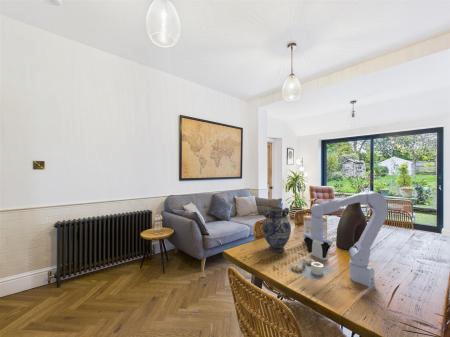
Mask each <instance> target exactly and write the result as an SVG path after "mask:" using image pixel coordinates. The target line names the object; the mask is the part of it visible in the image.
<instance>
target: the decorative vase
mask: <svg viewBox="0 0 450 337" xmlns="http://www.w3.org/2000/svg"><path fill="white" fill-rule="evenodd" d="M289 214H290V208H289V207H284V208H282V207H278V206H272V207H270V208H269V209H265V210H263V217H265V218H264V220H263V222H262V234H263V238H264V239H265V241H266V242H267V244H268V245H269V246H268V250H269V251H271V252H272V253H273V252H274V253H282V252H285V246H286V244H287V243H288V241H289V239H290V237H291V233H292V232H291V231H292V226H291V223H290V221H289V219H288V215H289Z"/></svg>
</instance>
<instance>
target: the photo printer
mask: <svg viewBox="0 0 450 337" xmlns="http://www.w3.org/2000/svg"><path fill="white" fill-rule="evenodd" d="M321 244H323V242H320V241H316V240H313V243H312V252H311V253H310V255H312V256H313V257H315V258H318V259H320V260H322V261H327V260H328V258H329V256H328V254H329V253H328V252H329V251H328V252H327V256H326V258H323V257H322V246H321Z"/></svg>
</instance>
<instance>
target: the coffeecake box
mask: <svg viewBox="0 0 450 337" xmlns="http://www.w3.org/2000/svg"><path fill="white" fill-rule="evenodd" d="M311 215H312V214H311ZM311 215H303V234H304V233H308V234H311ZM323 237H325V238H327V239H328V218H327V217H326V216H325V215H323ZM304 239H305V237H303V242H304V243H305V241H304Z"/></svg>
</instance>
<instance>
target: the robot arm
mask: <svg viewBox="0 0 450 337" xmlns="http://www.w3.org/2000/svg"><path fill="white" fill-rule="evenodd" d="M387 202H388V201H387V199H386V198H385V196H384V195H383V194H382V193H379V192H376V191H374V190H367V191H363V192H358V193H355V194H353V195H350V196H347V197H344V198H341V199H339V200H337V199H334V198H332V199H331V198H328V199H327V200H326V201H323V202H318V203H315V204H312V205H311V208H310V212H311V234H308V233H304V232H303V234H302V235H303V242H304V241H305V242H304V243H305V244H306V248H307V252H308V253H309V254H311V252H312V243H313V240H316V241H320V242H323V244H321V246H322V257H323V258H326V256H327V252H329V249H331V246H332V245H333V240H332V239H329V238H328V237H327V238H325V237H323V216H325V215H326V214H331V213H334V212H336V211H339V210H340V209H341V207H346V206H350V205H354V204H356V203H359V204H366V205H368V206H369V208H370V209H371V211H372V214H371V216H370V218H369V220H368V222H367V224H366V226H365V228H364V230H363V232H362V233H361V235H360V237H359V239H358V240H357V241H356V242H355V243H354V245H353V246H351V247H350V248H349V250H348V254H349V256H350V257H351V258H350V259H349V279H350V280H351V281H353V282H355V283H357V284H361V285H364V286H366V287H364V289H365V290H367V291H368V290H370V289H372V288H373V287H374V286H376V283H375V269H374V268H373V267H371V266H369V265H368V264H369V263H370V260H369V258H370V255H371V248H372V246H373V244H374V242H375V240H376V238H377V236H378V234H379V232H380V231H381V229H382V226H383V225H384V223H385V221H386V219H387V217H388V215H389V213H388V212H389V211H388V205H387ZM304 237H305V239H304Z"/></svg>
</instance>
